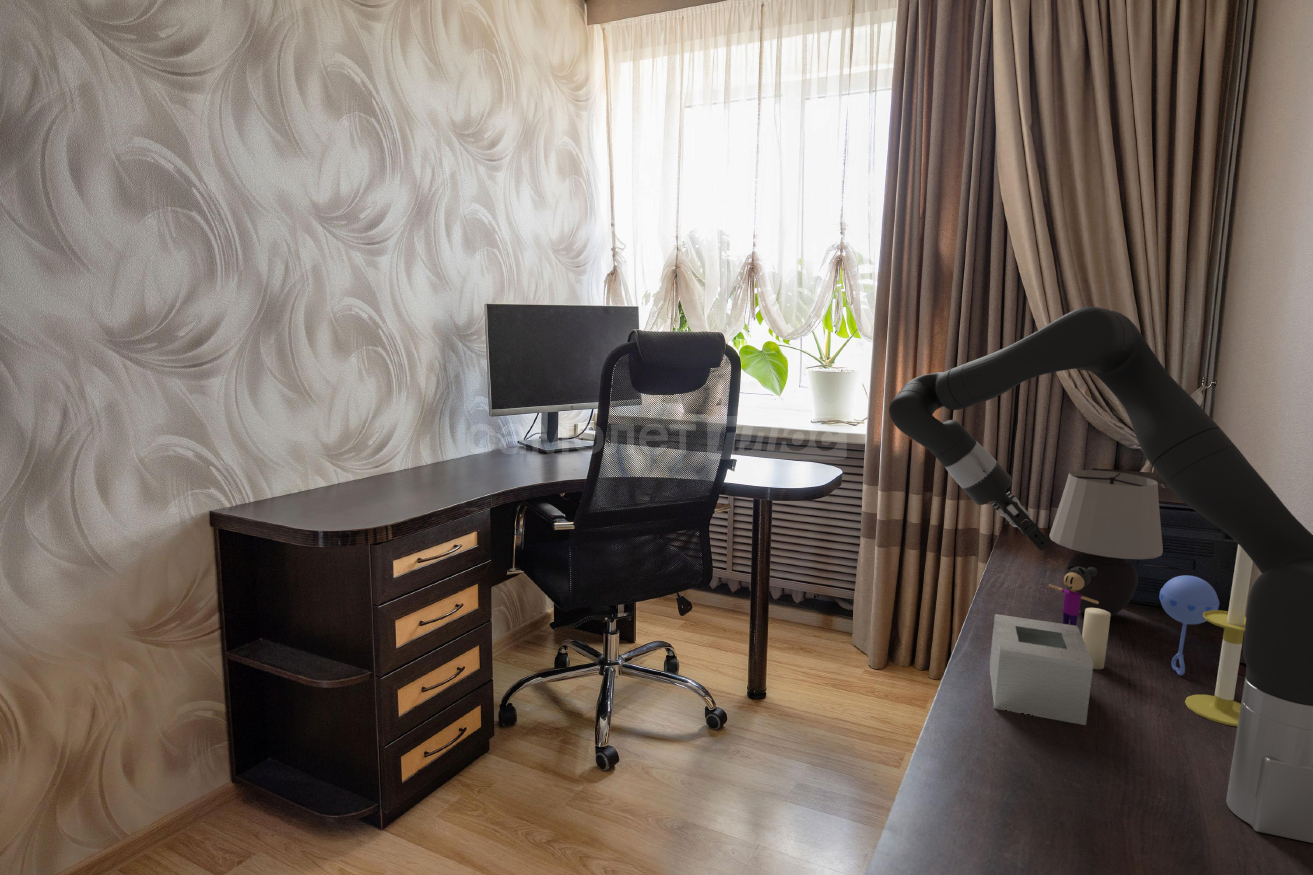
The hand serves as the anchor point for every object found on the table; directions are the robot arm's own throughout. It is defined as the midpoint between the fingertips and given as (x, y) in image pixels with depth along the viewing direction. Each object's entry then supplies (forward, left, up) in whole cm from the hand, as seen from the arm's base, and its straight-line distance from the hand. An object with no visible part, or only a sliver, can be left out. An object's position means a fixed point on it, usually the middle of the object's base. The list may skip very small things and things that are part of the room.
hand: (1038, 539), depth 138 cm
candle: (-8, -28, -23) cm, 37 cm away
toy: (+14, -9, -23) cm, 29 cm away
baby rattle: (+5, -25, -23) cm, 35 cm away
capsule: (+3, -11, -23) cm, 26 cm away
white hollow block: (-14, 0, -23) cm, 26 cm away
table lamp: (+31, -16, -23) cm, 42 cm away
